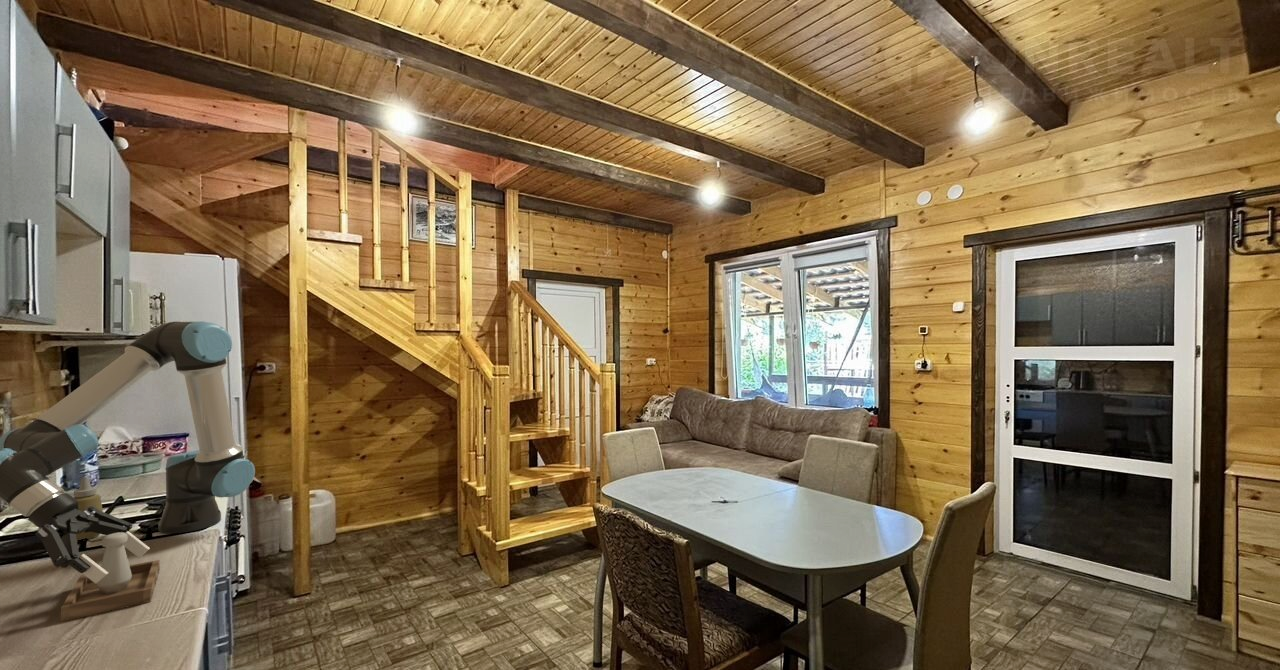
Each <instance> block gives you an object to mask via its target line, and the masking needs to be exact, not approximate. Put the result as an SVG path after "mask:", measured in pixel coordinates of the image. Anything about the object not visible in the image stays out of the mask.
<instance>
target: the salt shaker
mask: <svg viewBox="0 0 1280 670" xmlns="http://www.w3.org/2000/svg"><path fill="white" fill-rule="evenodd" d="M127 540H128V536H127V534H126V533H124V532H118V533H113V534H110V535H104V537H103V538H102V540H101V545H102V547H104V548H105V549H104V552H103V557H102V562H101V567H102V568H103V569H104V570H106V571H107V572H108V574H107V575H106V576H105V577H104V578H102V579H101V580H100V581H99V582H98V583H97V586H98V588H99V589H100V591H101V592H102V593H104V594H111V593H116V592H120V591H122V590H124V589H126V588H127V586H128V584H129V582H130V580H131V577H132V574H131V570H130V566H129V565H130V562H129V560H128V556H127V553H126V547H124V543H126V542H127Z"/></svg>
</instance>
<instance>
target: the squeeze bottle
mask: <svg viewBox="0 0 1280 670" xmlns="http://www.w3.org/2000/svg"><path fill="white" fill-rule="evenodd" d="M73 498H74V499H76V500H77V501H78V502H79V505H78V509H79V510H81V511H85V510H87V509H88V508H89V507H90V506H94V507H95V508H97V509H98V510H100V511H102V512H104V509H103V503H102V498H101V495H99V494H97V487H94V486H93V487H92V485H91V482H90V479H89V476H82V477H81V481H80V484H79V488H78V489H75V490H73ZM90 523H91V522H90ZM99 536H100V534H99V533H94V532H87V533H85V532H83V533H81V534H77V535H76V539H77V542H79V541H78V540H81V539H85V538H87V539H88V540H91V539H95V538H96V537H99Z"/></svg>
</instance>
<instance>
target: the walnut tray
mask: <svg viewBox="0 0 1280 670" xmlns="http://www.w3.org/2000/svg"><path fill="white" fill-rule="evenodd" d="M160 561H161V560H160V559H157V560H150V561H147V562H141V563H136V564H129V566H130V570H131V574H132V577H131V580H130V582H129V584H128V586H127V588H126V589H124V590H122V591H120V592H116V593H111V594H104V593H102V592H101V591H100V589H99V588H98V586H97V583H94V582H93V581H92V580H90V579H89V578H88V577H86V576H85V575H84V574H82V573H80V576H79V577H78V579H77V581H75V584H74V586H73V587H72V590H70V592H69V594H68V595H67V597H66V599H65V600H64V602H63V604H62V605H61V607H60V615H61V616H60V622H61V623H63V622H67V621H71V620H75V619H79V618H85V617H89V616H94V615H97V613H99V614H102V612H103V613H106V612H105V611H108V612H110V611H109V610H112V611H115V610H114V609H117V610H119V609H118V608H121V609H123V608H122V607H126V606H130V607H133V606H132V605H135V606H138V605H137V604H139V605H143V604H147V603H151V602H152V598H153V595H154V591H155V589H154V588H156V585H157V582H156V581H158V578H159V575H158V574H160V572H159V571H160V567H161V566H160V564H161V563H160ZM126 608H127V607H126Z"/></svg>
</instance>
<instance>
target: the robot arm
mask: <svg viewBox="0 0 1280 670" xmlns="http://www.w3.org/2000/svg"><path fill="white" fill-rule="evenodd" d="M232 348H233V340H232V336H231V335H230V333H229V332H228V331H227V330H226V329H225V328H224V327H223V326H221V325H220V324H217V323H214V322H208V321H170V322H166V323H163V324H160V325H158V326H156V327H154V328H152V329H150V330H149V331H147V332H145V333H144V334H142V335H141V336H140V337H138V338H136V339H135V340H134V341H132V342H131V343H130V344H128V345H127V346H126V347H125V348H124V353H123V354H122V355H120V356H119V357H118V358H116V359H115V360H113V361H112V362H111V363H109V364H108V365H107V366H106V367H104V368H103V369H101V370H100V371H98V372H97V373H96V374H95V375H93V376H92V377H91V378H89V379H87V380H86V381H85V382H84V383H83V384H81V385H80V386H78V387H77V388H76V389H74V390H73V391H72V392H70V393H68V395H66V396H65V397H64V398H62V399H61V400H60V401H57V403H56V404H54V405H53V406H51V407H50V408H49V409H47V410H46V411H45V412H43V413H42V414H40V415H39V416H38V417H36V418H35V419H33V420H32V421H31V422H29V423H28V424H27V425H25V426H24V427H22V428H21V427H20V428H16V429H12V430H9V431H6V432H4V433H3V434H2V435H0V499H1V500H3V501H4V502H5V503H7V504H8V505H9V506H11V507H12V508H13V509H14V510H16V511H17V512H18V513H19V514H21V515H22V516H24V517H28V521H29V522H31V523H32V524H33V525H35V526H36V527H37V528H39V530H38V531H36V532H35V536H36V537H37V538H38V539H39V540H40V541H41V542H42V544H43V547H44V548H45V550H46V552H47V554H48V556H49V558H50V560H51V562H52V564H53V566H54V567H56V568H59V567H60V568H63V569H66V568H67V567H69V566H70V567H72V569H74V570H75V571H77V572H78V573H79V574H84V575H85V576H86V577H88V578H89V579H90V580H92V581H93V582H94V583H98V582H99V581H100V580H101V579H102V578H104V577H105V576H106V575H107V574H108V572H107V571H106V570H104V569H103V568H102V567H101V566H100V565H99V564H98V563H96V562H95V561H94V560H93V559H92V558H90V557H89V556H87V554H84V553H83V554H81V555H80V552H79V546H78V541H77V539H76V535H77V534H81V533H83V532H85V533H87V532H94V533H99V535H104V536H107V535H110V534H113V533H119V532H124V533H126V534H127V536H128V540H127V542H126V543H124V547H125V549H127V550H128V551H129V552H131V553H132V554H133V555H135V556H136V557H137V558H139V559H140V558H141V557H143V555H145V554H146V553H147V552H148V551H149V550H150V547H149V546H148V545H147V544H146V543H144V542H143V541H142V540H140V539H139V537H137V536H135V535H134V533H132V532H131V530H132V529H133V526H134V525H133V524H132V523H131V522H129V521H127V520H124V519H121V518H118V517H116V516H114V515H111V514H109V513H106V512H104V511H103V512H102V511H100V510H98V509H97V508H95V507H94V506H90V507H89V508H88V509H87V510H85V511H81V510H79V509H78V505H79V502H78V501H77V500H76V499H74V496H72V495H71V494H69V493H65V489H63V488H62V487H61V486H60V485H58V484H56V482H54V481H53V480H51V479H50V478H49V477H47V476H49V475H51V474H53V473H55V472H56V471H59V470H60V469H62V468H64V467H66V466H67V465H70V464H71V463H73V462H75V461H77V460H78V459H81V458H83V457H85V456H86V455H88V454H89V453H91V452H93V451H95V450H96V449H97V448H98V447H99V439H98V437H97V435H96V434H95V432H94V431H92V430H91V429H90V428H89V427H87V426H85V425H83V424H85V423H86V422H87V421H88V420H90V419H91V418H92V417H94V416H95V415H96V414H97V413H98V412H100V411H101V410H103V409H104V407H106V406H108V404H110V403H111V402H112V401H114V400H116V399H117V397H119V396H120V395H121V394H123V393H124V392H125V391H127V389H129V388H130V387H132V386H133V385H134V384H135V383H136V382H138V381H139V380H140V379H142V378H143V377H145V376H146V375H147V374H148V373H150V372H151V371H152V372H153V371H154V372H155V371H158V370H160V369H161V368H162V367H163V366H165V365H167V364H169V363H172V362H174V364H175V365H174V366H175V369H176V372H178V373H180V374H181V375H183V376H184V379H185V384H186V389H187V395H188V399H189V404H190V409H191V413H192V419H193V424H194V429H195V435H196V440H197V445H198V450H192V451H186V452H181V453H176V454H172V455H169V456H168V458H167V459H166V463H165V467H164V468H165V487H166V488H165V506H164V509H163V512H162V515H161V518H160V520H159V521H158V527H157V528H158V532H159V533H162V534H181V533H189V532H195V531H198V530H203V529H206V528H209V527H212V526H214V525H216V524H218V523H219V522H221V520H222V512H221V510H220V508H219V506H218V503H217V501H216V498H220V499H222V498H234V497H236V496H239V495H241V494H242V493H244V492H245V491H246V490H247V489H248V488H249V487H250V484H251V483H253V480H254V478H255V474H256V468H255V465H254V463H253V462H252V461H250V460H249V459H248V458H245V457H244V452H243V447H241V446H239V445H238V444H236V443H235V437H234V431H233V427H232V426H233V425H232V421H231V420H232V419H231V414H230V408H229V404H228V399H227V393H226V387H225V382H224V378H223V377H224V376H223V372H222V369H223V368H224V367H226V366H227V359H226V358H227V357H228V356H229V355H230V352H231V351H232ZM215 497H216V498H215ZM90 522H91V523H90Z"/></svg>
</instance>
